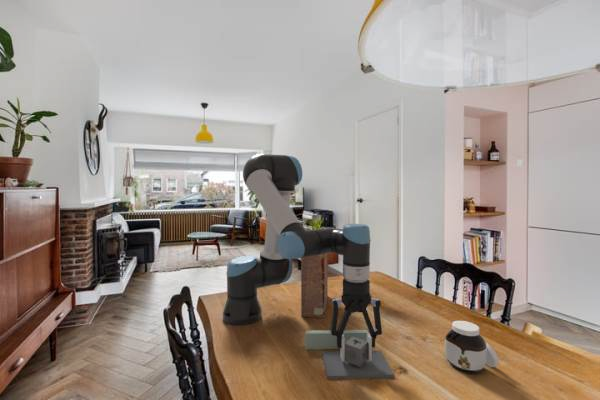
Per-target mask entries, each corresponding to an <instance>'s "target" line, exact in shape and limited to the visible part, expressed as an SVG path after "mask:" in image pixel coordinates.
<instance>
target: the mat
mask: <svg viewBox="0 0 600 400" xmlns="http://www.w3.org/2000/svg"><path fill="white" fill-rule="evenodd" d="M322 360H323V364H324V370H325V374H326V379H327V380H333V379H334V380H338V379H343V380H344V379H383V378H384V379H389V378H395V373H394V371H393V369H392V368H391V366H390V364H389V363H388V361H387V359H386V357H385V355H384V354H383V352H382V350H372V361H369V359H367V360H366V361H365V363H364V364H363V365H362V366H361V367H359V366H356V365H354V364H351V363H349V362H346V361H342V360H341V356H340V350H339V351H337V350H336V351H334V350H333V351H322Z"/></svg>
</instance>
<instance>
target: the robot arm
mask: <svg viewBox="0 0 600 400" xmlns="http://www.w3.org/2000/svg"><path fill="white" fill-rule="evenodd" d="M242 177H243V181H244V183H245V186H246V187H247V189H248V190H249V191H250V192H253V194H254V195H255V197H256V199H257V200H258V202H259V204H260V206H261V207H262V209H263V210H264V212H265V214H266V225H265V236H264V248H263V249H262V250H261V251H260V253H259V258H257V257H256V255H242V256H238V257H235V258H233V259H230V261H228V262H227V267H226V289H227V291H226V297H227V298H226V302H225V305H224V307H223V312H222V321H224V322H225V323H226V324H230V325H234V326H242V325H243V326H244V325H249V324H253V323H255V322H257V321H259V320H260V319H261V318H262V313H263V312H262V307H261V304H260V300H259V298H258V289H261V288H264V287H270V286H275V285H277V286H278V285H280V284H283V283H287V281H289V280H290V279H291V276H292V273H293V264H292V263H293V260H292V259H294V260H295V259H296V260H297V259H301V257H307V256H313V255H321V254H327V253H328V254H336V255H340V256H342V278H343V279H342V293H341V294H342V295H341V296H340V297H339V298H336V297H334V298H333V297H332V298H331V301H332V302H331V303H332V306H333V307H332V313H331V319H330V320H331V321H330V322H331V323H330V328H329V330H331V334H332V335H333V336H334V335H335V336H337V347H338V348H340V349H339V351H340V356H341V360H342V361H345V338H344V335H343V332H344V330H346V327H347V324H348V322H349V318H350V317H351V315H352V314H353V313H361V314H362V315H363V318H364V321H365V324H366V327H367V330H368V332H369V333H367V342H368V359H369V361H372V351H373V348H374V349H375V347H376V339H377V336H381V335H382V334H383V330H382V320H381V310H380V308H381V304H382V302H381V300H380V299H379V298H378V297H370V294H371V292H370V291H371V289H370V287H371V286H370V283H371V282H370V281H371V280H369V279H370V273H371V271H370V270H371V269H370V268H371V267H370V266H371V265H370V264H371V263H370V261H371V260H370V257H371V255H370V254H371V234H370V233H371V232H370V227H369V226H368V225H367V224H363V223H346V224H344V225H343V227H342V228H336V227H332V226H322V227H319V228H318V229H308V230H307V229H305V227H304V225H303V224H302V223H301V222H300V220H299V219H298V217H297V216H296V214H295V212H294V211H293V210H292V208H291V206H290V203H291V194H292V193H294V192H295V191H296V186H298V185H299V184H301V181H302V179H303V167H302V165H301V163H300V160H298V158H296V157H294V156H291V155H288V154H287V155H286V154H268V153H257V154H256V155H253V156H251V157H250V158H249V159H248V160H247V161H246V162H245V164H244V167H243V170H242ZM370 303H371V305H372V310H373V311H372V312H373V319H374V327H375V328H374V327H373V324H372V321H371V318H370V315H369V313H368V310H367V308H368V307H369V305H370ZM341 304H343V306H345V307H344V309H343V314H342V316H341V318H340V321H339V323H338V318H339V308H340V307H341ZM337 325H338V327H337Z"/></svg>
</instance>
